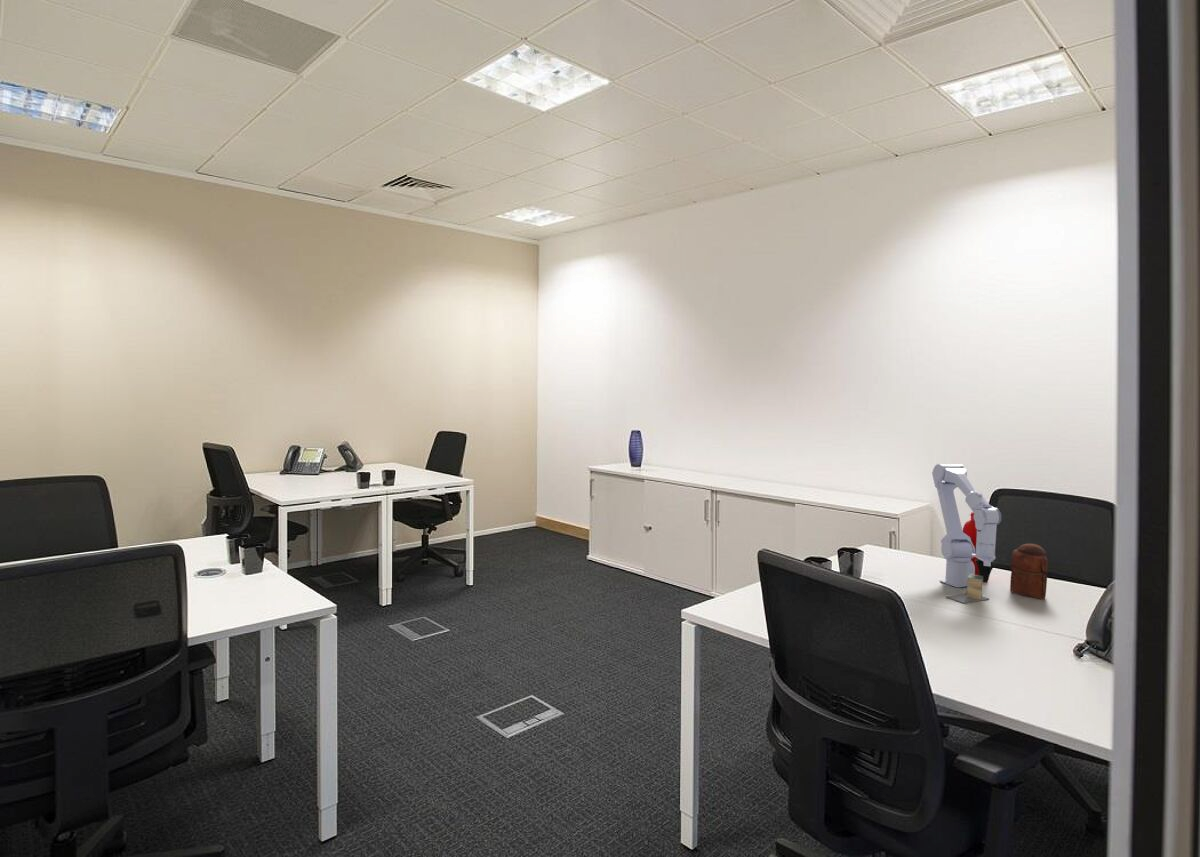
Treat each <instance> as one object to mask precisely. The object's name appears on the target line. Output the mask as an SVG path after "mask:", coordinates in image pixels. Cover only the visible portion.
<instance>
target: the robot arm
mask: <svg viewBox="0 0 1200 857" xmlns="http://www.w3.org/2000/svg"><path fill="white" fill-rule="evenodd" d="M931 474H932V478H933V483H934V487H935V489H936V491H937V495H938V500H939V504H940V508H941V512H942V514H941V515H942V517H943V522H944V526H945V531H946V534H945V535H944V536H943V537H942V539H940V542H941V548H940V549H941V554H942V556H943V558H944V559H945V560H946V563H945V564H946V565H945V579H940V580H939V582H940V583H943V584H946V585H949V586H952V587H955V588H965V587H968V576H969V575H970V574H973V575H975V566H974V563H973V562H972V561H971V558H973V557H976V558H978V559H980V560H975V562H976V564H977V566H978V571H979V575H980V576H983V583H985V584H987V583H988V582H989V578H990V575H991V573H992V571H993V569H994V567H995V565H996V564H995V562H994V561H995V560H996V546H995V544H997V543H996V542H997V525H1000V523H1001V521H1002V513H1001V511H1000V509H999V508H998V507H994V506H993V505H991V504H990V503H989V502H988V500H987V499H986V498H985V497H984V495H983V493H982V492H979V491H976V490H975V488H974V486H973V485H972V483H971V482H970V480H969V478H968V470H967V469H966V467H965V466H964V465H963V464H962V463H957V464H956V463H955V464H953V463H949V464H948V463H945V464H943V463H936V464H935V465H934V467H933V470H932V472H931ZM957 488H958V489H959V490H960V491H961V492H962V494H963V495H964V496H965V499H964V500H965V501H964V502H965V503H966V504H967V506H968V507H969V509H970V510H971V511H972V512H973V513H974V521H975V527H976V529H977V539H976V554H975V547H974V545H973V544H972V542H971V538H970V537H969V536H968V535H966V534H965V533H963V527H962V522H961V517H960V514H959V510H958V505H957V501H956V498H955V492H954V490H955V489H957Z"/></svg>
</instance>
